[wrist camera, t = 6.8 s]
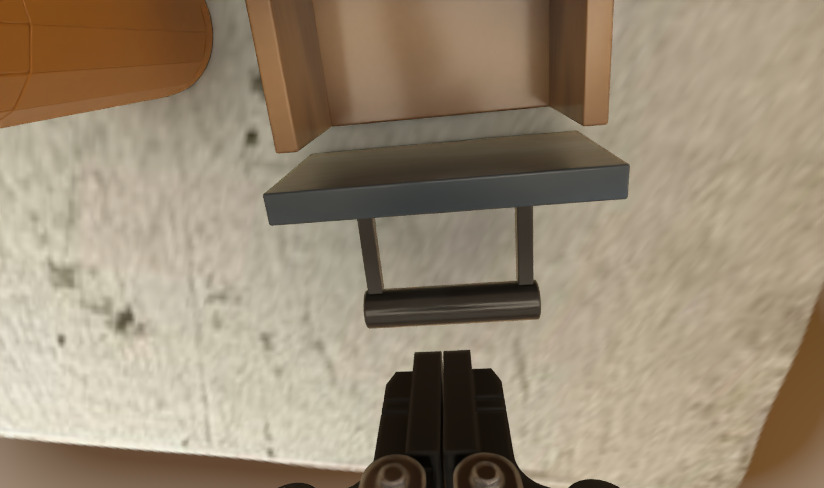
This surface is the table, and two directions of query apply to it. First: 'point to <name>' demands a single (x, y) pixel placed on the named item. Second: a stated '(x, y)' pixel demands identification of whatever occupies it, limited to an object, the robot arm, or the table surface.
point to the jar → (97, 54)
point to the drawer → (434, 97)
